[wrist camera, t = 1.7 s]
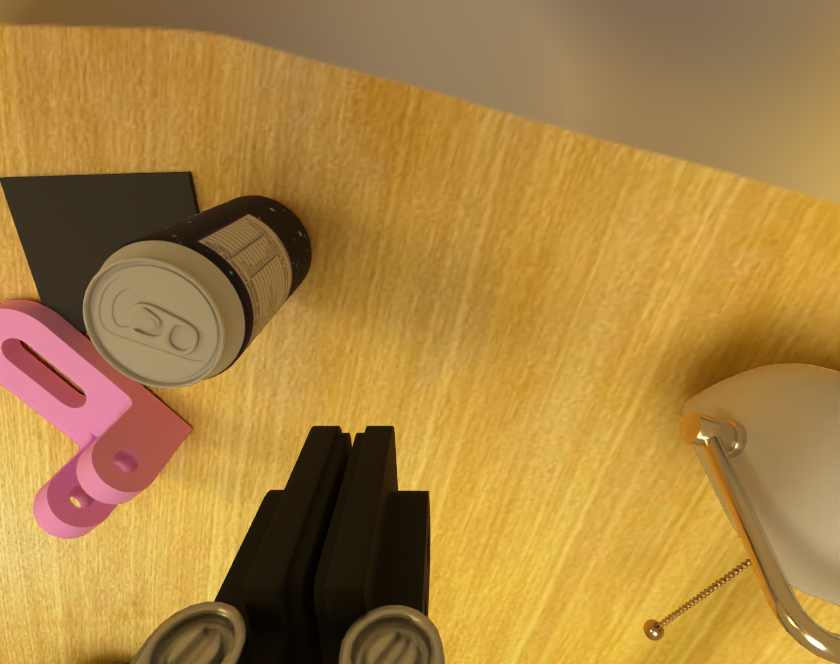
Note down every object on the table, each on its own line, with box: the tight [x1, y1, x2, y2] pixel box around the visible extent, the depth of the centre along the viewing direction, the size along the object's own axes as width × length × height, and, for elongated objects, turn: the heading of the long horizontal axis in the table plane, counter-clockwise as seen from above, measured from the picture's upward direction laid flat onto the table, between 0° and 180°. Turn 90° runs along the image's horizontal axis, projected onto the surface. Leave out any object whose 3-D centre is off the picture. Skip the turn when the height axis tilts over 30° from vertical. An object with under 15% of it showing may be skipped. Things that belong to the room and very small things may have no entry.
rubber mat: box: [0, 172, 199, 332], centre depth 29 cm, size 9×10×1 cm
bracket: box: [0, 300, 193, 539], centre depth 29 cm, size 13×6×7 cm, turn 39°
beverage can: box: [83, 196, 311, 389], centre depth 23 cm, size 6×6×12 cm
